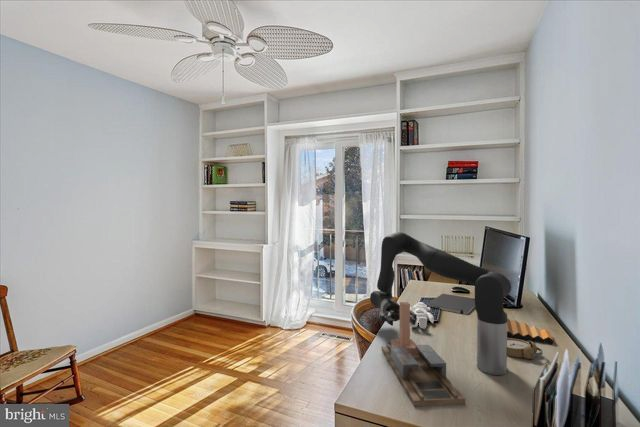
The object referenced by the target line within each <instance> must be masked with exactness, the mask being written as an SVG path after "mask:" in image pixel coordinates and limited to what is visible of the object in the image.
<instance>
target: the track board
mask: <svg viewBox="0 0 640 427" xmlns="http://www.w3.org/2000/svg"><path fill="white" fill-rule="evenodd" d="M381 352H382V354H383V355H384V357H385V359H386V361H387V362H388V364H389V366H390V367H391V369H392V371H393V373H394V374H395V376H396V378H397V379H398V381H399V383H400V385H401V386H402V389H403V390H404V392H405V393H406V395H407V397H408V398H409V400H410V402H411V404H412V405H413V407H421V406H422V407H425V406H426V407H427V406H437V405H438V406H444V405H445V406H446V405H465V404H466V398H465V397H464V396H463V395H462V393H461V392H460V391H459V390H458V389H457V388H456V386H455V385H454V384H453V382H451V380H449V378H448V377H447V376H446V379H444V378H443V377H442V376H441V374H440V373H439V372H438V371H437V370H436V368H435V367H431V366H430V365H429V364H428V363H427V361H426V360H425V359H424V358H423V357H422V355H421V354H420V353H419V356H413V357H414V359H415V360H416V361H417V363H418V364H419V367H414V368H408V380H403V379H402V377H401V376H400V374H399V372H398V371H397V369H396V367H395V366H394V364H393V362H392V361H391V343H387V344H386V346H381Z"/></svg>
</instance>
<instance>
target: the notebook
mask: <svg viewBox="0 0 640 427" xmlns="http://www.w3.org/2000/svg"><path fill="white" fill-rule="evenodd" d="M426 305H432V306H437V307H440V308H441V311H444V312H445V311H446V312H452V313H457V314H461V315H468V314H470V312H472V311H473V309H475V297H474V298H472V297H469V296H467V297H466V296H460V295H453V294H447V293H441V294H440V295H438V296H437V297H435V298H434V299H433V300H430V301H429V302H427V304H426Z"/></svg>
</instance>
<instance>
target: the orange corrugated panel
mask: <svg viewBox="0 0 640 427" xmlns="http://www.w3.org/2000/svg"><path fill="white" fill-rule="evenodd" d="M507 338H512V339H519V340H523V341H526V342H530V341H531V342H533V341H534V343H541V344H542V343H543V342H544V344H548V345H553V344H554V342H555V341H554V339H553V336H552V335H551V333H550V331H548V330H547V329H545V328H544V329H541V330H540V329H539V328H538V327H537V326H535V325H532V326H529V325H528V324H526V323H525V322H523V323H521V324H520V323H519V322H518V321H517V320H516V319H513V320H512V321H511V320H510V319H509V318H508V317H507Z"/></svg>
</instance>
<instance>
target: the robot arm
mask: <svg viewBox="0 0 640 427" xmlns="http://www.w3.org/2000/svg"><path fill="white" fill-rule="evenodd" d="M381 242H382V243H381V248H380V250H381V251H380V252H381V253H380V255H381V256H380V269H379V275H378V279H377V283H376V287H377V289H378V290H374V291H372V292H371V293H370V297H369V300H370V303H371V304H372V306H373V307H375V308H376V309H379V311H378V317H379V319H380V321H381V322H382V323H385V322H386V323H387V324H389V325H390V326H394V322H397V321H400V303H398V302H396V301H395V300H394V298H393V286H394V282H395V277H396V276H395V270H394V267H393V264H394V261H395V258H396V257H397V255H400V254H402V253H407V254H410V255H412V256H414V257H415V258H417V259H418V260H419V262H420V263H421V265H423V267H424V268H426V269H427V270H428V271H430V272H431V273H435V274H436V275H438V276H441V277H442V278H443V277H444V278H447V279H451V280H455V281H461V282H464V283H467V284H470V285H473V286H474V298H475V307H474V309H475V312H476V316H477V317H476V367H477V369H479V371H481V372H484V373H486V374H489V375H492V376H493V375H495V376H501V375H502V376H503V375H505V374H507V370H508V355H507V318H508V314H507V312H506V311H505V310H504V298H506V297H507V296H509V295H510V293H511V291H512V284H511V282H510V279H508V277H507V276H505V275H504V274H502V273H500V272H497V271H494V270H491V269H489V268H488V269H487V268H484V267H481V266H479V265H475V264H473V263H470V262H468V261H467V260H464V259H462V258H460V257H458V256H455V255H453V254H450V253H448V252H447V251H443V250H441V249H439V248H436V247H434V246H432V245H429V244H427V243H424V242H422V241H419V240H418V239H416V238H414V237H412V236H411V235H409V234H408V233H405V232H402V231H396V232H393V233H390V234H388V235H386V236H384V238H383V239H382V241H381ZM416 321H417V315H416V314H415V313H414V312H412V311H410V325H411V324H412V325H415V324H416Z"/></svg>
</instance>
